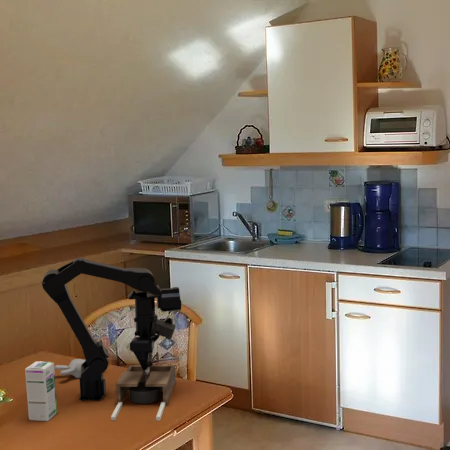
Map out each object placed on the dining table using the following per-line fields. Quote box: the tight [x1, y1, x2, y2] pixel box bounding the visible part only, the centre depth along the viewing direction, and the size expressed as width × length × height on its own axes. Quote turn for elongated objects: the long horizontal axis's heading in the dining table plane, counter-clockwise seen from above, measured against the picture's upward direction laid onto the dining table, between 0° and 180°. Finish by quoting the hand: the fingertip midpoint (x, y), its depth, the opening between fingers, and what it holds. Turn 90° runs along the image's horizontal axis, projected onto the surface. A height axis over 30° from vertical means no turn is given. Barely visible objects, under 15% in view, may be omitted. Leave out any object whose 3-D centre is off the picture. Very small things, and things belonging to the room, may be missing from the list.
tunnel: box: [115, 364, 176, 407], centre depth 199 cm, size 14×19×6 cm
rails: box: [110, 401, 166, 422], centre depth 185 cm, size 13×10×1 cm
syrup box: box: [24, 360, 59, 422], centre depth 183 cm, size 6×6×14 cm
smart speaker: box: [128, 381, 162, 405], centre depth 195 cm, size 9×9×4 cm
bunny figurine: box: [54, 358, 86, 379], centre depth 215 cm, size 10×5×15 cm
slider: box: [129, 352, 163, 392], centre depth 200 cm, size 11×3×11 cm, turn 87°
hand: (147, 365), depth 200 cm, fingers open, 8 cm apart
